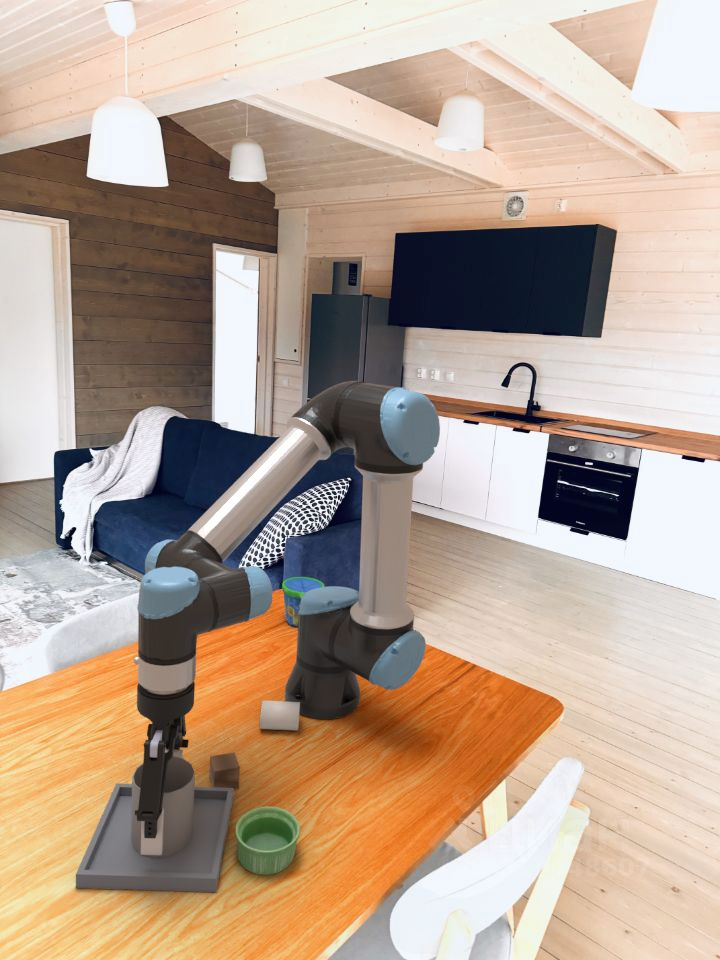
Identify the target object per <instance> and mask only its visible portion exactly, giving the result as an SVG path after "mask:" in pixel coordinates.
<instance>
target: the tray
mask: <svg viewBox="0 0 720 960" xmlns="http://www.w3.org/2000/svg"><path fill="white" fill-rule="evenodd" d="M234 792H235V789H234V788H221V787H212V786H195V785H194V806H193V829H192V836H191V839H190V842H189V843H188V844H187V845H186V846H185V847H184V848H183V849H182V850H181V851H180V852H177V853H175V854H173V855H171V856H168V857H159V858H152V857H148V856H144V855H141V854H140V853H139V852H137V851H136V850H135V849H134V848H133V845H132V841H131V815H132V783H119V782H117V783H115V785H114V788H113V790H112V792H111V794H110V796H109V799H108V802H107V803H106V806H105V808H104V810H103V813H102V814H101V817H100V819H99V821H98V824H97V826H96V828H95V830H94V833H93V835H92V837H91V840H90V841H89V844H88V846H87V848H86V850H85V853H84V855H83V857H82V859H81V862H80V864H79V866H78V868H77V871H76V873H75V889H91V888H97V889H98V888H100V889H98V890H125V889H129V890H130V889H132V890H131V891H133V890H134V891H158V892H159V891H167V892H169V891H170V892H192V893H193V892H197V893H198V892H200V893H201V892H202V893H217V889H218V884H219V877H220V872H221V868H222V863H223V858H224V851H225V846H226V842H227V841H226V840H227V837H228V830H229V824H230V819H231V813H232V808H233V802H234ZM102 888H103V889H102ZM106 888H107V889H106ZM108 888H110V889H108ZM97 889H96V890H97Z"/></svg>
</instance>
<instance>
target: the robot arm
mask: <svg viewBox="0 0 720 960" xmlns="http://www.w3.org/2000/svg"><path fill="white" fill-rule="evenodd" d="M439 417H440V416H439V414H438V411H437V408H436V407H435V405H434V404H433V403H432V402H431V400H430V398H428V397H427V395H425V394H423V393H421V392H418V391H415V390H410V389H408V388H406V387H399V386H392V385H385V384H377V383H370V382H364V381H361V380H350V381H349V380H348V381H343V382H340V383H337V384H335V385H333V386H331V387H329V388H326V389H325V390H323V391H321V392H320V393H318V394H316V395H315V396H314V397H313V398H311V399H310V400H309V401H307V402H306V403H305V404H303V405H302V406H301V407H300V408H298V410H297V411H296V412H294V414H293V415H291V417H290V418H289V419H288V420H287V422H286V430H285V431H284V432H283V433H282V434H281V435H280V436H279V437H278V438H277V439H276V440H275V441H274V442H273V443H272V444H271V445H270V446H269V447H268V449H266V451H264V452H263V453H262V454H261V455H260V456H259V458H257V459H256V461H254V462H253V463H252V465H250V466H249V467H248V469H247V470H246V471H245V472H244V473H242V475H241V476H240V477H239V478H238V479H236V481H235V482H233V484H232V485H231V486H230V487H229V488H228V489H227V490H226V491H225V492H224V493H223V494H222V495H221V496H220V497H219V498H218V499H216V501H215V502H214V503H213V504H212V505H211V506H210V507H209V508H208V509H207V510H206V511H205V512H204V513H203V514H202V515H201V516H200V517H199V518H198V519H197V520H196V521H195V522H194V523H193V524H192V525H191V527H189V528H188V530H187V531H185V533H183V535H182V536H180V537H179V539H177V540H175V539H164V540H162V541H160V542H157V543H156V544H154V545H153V546H152V547H151V548H150V550H149V551H148V553H147V555H146V557H145V560H144V570H145V574H144V575H143V576H142V578H141V580H140V583H139V585H140V586H139V592H138V601H137V602H138V603H137V613H138V620H137V621H138V622H137V623H138V626H137V627H138V628H137V629H138V631H137V632H138V633H137V634H138V635H137V641H138V642H137V645H138V646H137V648H138V651H137V654H138V656H135V657H134V659H133V663H134V664H135V665H138V668H137V682H138V683H137V686H136V687H137V688H136V691H137V692H136V695H137V696H136V708H137V712H138V713H139V714H140V715H141V716H142V717H144V718H146V719H148V720H149V721H150V722H151V723H148V726H147V730H146V737H147V739H146V740H144V743H143V761H142V762H143V770H142V779H141V788H140V797H139V806H138V810H135V815H137V821H141V855H162V852H163V821H164V809H162V803H163V796H164V789H165V782H166V775H167V768H168V761H169V760H170V759H172V757H173V756H174V757H179V758H183V759H184V757H183V755H184V750H183V749H188V748H189V741H190V740H189V739H184V738H185V737H186V735H187V727H186V715H187V714H189V713H190V712H191V710H193V707H194V705H195V687H196V684H195V680H196V673H197V667H196V666H197V643H198V636H201V635H203V634H207V633H210V632H212V631H217V630H220V629H223V628H226V627H230V626H233V625H238V624H241V623H247V622H249V621H250V620H252V619H255V618H258V617H261V616H262V615H264V614H265V613H267V612H268V611H269V610H270V608H271V605H272V603H273V593H274V592H273V586H272V583H271V580H270V578H269V575H268V574H267V573H266V572H265V571H264V569H262V568H261V567H259V566H255V565H250V566H240V567H239V568H231V567H229V566H227V565H225V564H223V563H224V561H226V559H228V557H230V555H231V554H232V553H233V552H234V550H235V549H237V548H238V547H239V545H241V543H243V541H244V540H245V539H246V538H247V537H248V536H249V535H250V534H251V532H252V531H254V529H256V527H258V526H259V524H260V523H261V522H263V520H264V519H265V518H266V517H267V516H268V514H269V513H270V512H271V511H272V510H273V509H274V508H275V507H276V506H277V505H278V504H279V503H280V502H281V501H282V500H283V499H284V498H285V496H287V494H288V493H289V492H290V491H291V490H292V489H293V488H294V487H295V486H296V485H297V483H298V482H299V481H300V480H301V479H302V478H303V477H304V476H305V475H306V474H307V473H308V472H309V471H310V470H311V469H312V468H313V466H314V465H316V463H318V461H325V460H327V459H328V460H329V458H330V457H331V455H333V454H334V452H336V451H338V450H340V449H343V448H350V449H353V450H354V468H355V469H356V470H357V471H358V472H359V473H360V475H362V495H361V496H362V501H361V502H362V503H361V530H360V552H359V555H360V556H359V558H360V560H359V588H358V590H356V589H353V588H352V587H351V588H350V587H346V586H333V585H332V586H331V585H330V586H325V587H321V588H316V589H313V590H310V591H308V592H306V593H305V594H304V595H303V597H302V599H301V605H300V611H299V620H298V627H297V641H296V643H297V644H296V657H295V658H296V659H295V662H294V666H293V668H292V670H291V672H290V674H289V676H288V678H287V681H286V683H285V687H284V700H285V701H286V702H300V710H299V715H301V716H304V717H308V718H312V719H319V720H331V719H339V718H343V717H345V716H348V715H350V714H352V713H353V712H355V711H356V710H357V709H358V707H359V706H360V699H361V688H360V683H359V681H358V680H359V679H358V677H357V676H360V677H361V678H363V679H365V680H366V681H368V682H369V683H370V684H372V685H374V686H375V685H376V686H378V687H381V688H382V689H383V690H388V691H393V690H397V689H400V688H401V687H402V686H404V685H406V684H407V683H408V682H409V681H410V680H411V679H412V677H414V676H415V674H416V673H417V671H418V669H419V668H420V666H421V664H422V662H423V660H424V656H425V653H426V646H427V645H426V638H425V637H424V636H423V634H422V633H421V632H420V631H418V630H417V629H415V628H414V625H415V624H414V623H415V622H414V621H415V620H414V618H415V612H414V610H413V608H412V607H411V606H410V605H409V604H408V603H407V595H408V579H409V563H410V562H409V561H410V560H409V559H410V541H411V526H412V525H411V524H412V523H411V522H412V511H413V510H412V507H413V493H414V492H413V491H414V490H413V489H414V478H415V477H416V476H417V475H419V474H420V473H421V472H422V471H423V469H424V464H425V463H426V462H427V461H429V460H430V459H431V457H433V455H434V454H435V448H437V447H438V444H439V441H440V434H441V423H440V418H439ZM181 748H182V749H181Z"/></svg>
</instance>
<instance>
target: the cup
mask: <svg viewBox="0 0 720 960" xmlns="http://www.w3.org/2000/svg"><path fill="white" fill-rule="evenodd" d="M142 770H143V763H141V764H139V765H138V766H137V767H135V770H134V772H133V774H132V776H131V777H132V778H131V780H132V781H131V784H132V815H131V841H132V845H133V848H134V849H135V850H136V851H137V852H139V853H140V854H141V821H137V815H135V810H138V806H139V797H140V788H141V779H142ZM195 778H196V771H195V768H194V766H193V764H192V763H191V762H189V761H188V760H187V759H186V758H184V757H183V758H179V757H174V756H173V757H172V759H170V760H169V761H168V768H167V775H166V782H165V789H164V796H163V803H162V809H164V821H163V852H162V855H144V856H148V857H152V858H159V857H168V856H171V855H173V854H175V853H177V852H180V851H181V850H182V849H183V848H184V847H185V846H186V845H187V844H188V843H189V842H190V839H191V836H192V829H193V806H194V786H195V783H196V781H195V780H196V779H195Z"/></svg>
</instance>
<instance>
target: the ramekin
mask: <svg viewBox="0 0 720 960" xmlns="http://www.w3.org/2000/svg"><path fill="white" fill-rule="evenodd" d="M300 831H301V829H300V823H299V822H298V820H297V818H296V817H295V816H294V815H293V814H292V813H291V812H290V811H288V810H286V809H283V808H281V807H276V806H261V807H256V808H253V809H251V810H249V811H247V812H245V813H244V814H242V816H241V817H240V818H239V819H238V821H237V822H236V825H235V829H234V833H235V839H236V846H237V848H236V849H237V858H238V861H239V863H240V864H241V866H242V867H243V868H244V869H245V870H247V871H248V872H250V873H252V874H255V875H259V876H263V875H264V876H265V875H266V876H269V875H275V874H278V873H280V872H282V871H284V870H285V869H286V868H288V867H289V866H290V865H291V863H292V862H293V860H294V857H295V853H296V847H297V841H298V839H299V836H300Z"/></svg>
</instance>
